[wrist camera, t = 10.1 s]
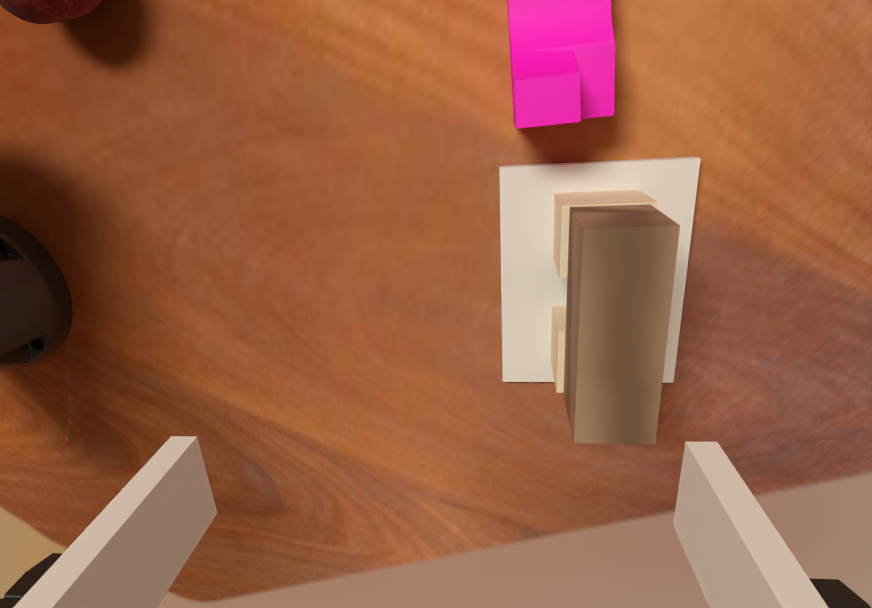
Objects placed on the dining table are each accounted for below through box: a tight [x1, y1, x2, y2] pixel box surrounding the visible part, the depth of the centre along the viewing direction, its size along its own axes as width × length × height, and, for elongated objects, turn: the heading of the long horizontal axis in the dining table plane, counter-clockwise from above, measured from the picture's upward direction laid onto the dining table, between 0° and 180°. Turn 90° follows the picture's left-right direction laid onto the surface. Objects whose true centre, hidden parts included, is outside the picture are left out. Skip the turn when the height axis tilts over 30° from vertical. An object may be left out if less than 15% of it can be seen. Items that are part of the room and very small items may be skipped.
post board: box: [500, 157, 701, 392], centre depth 39 cm, size 14×18×6 cm
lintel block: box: [563, 204, 680, 445], centre depth 33 cm, size 5×14×6 cm, turn 3°
